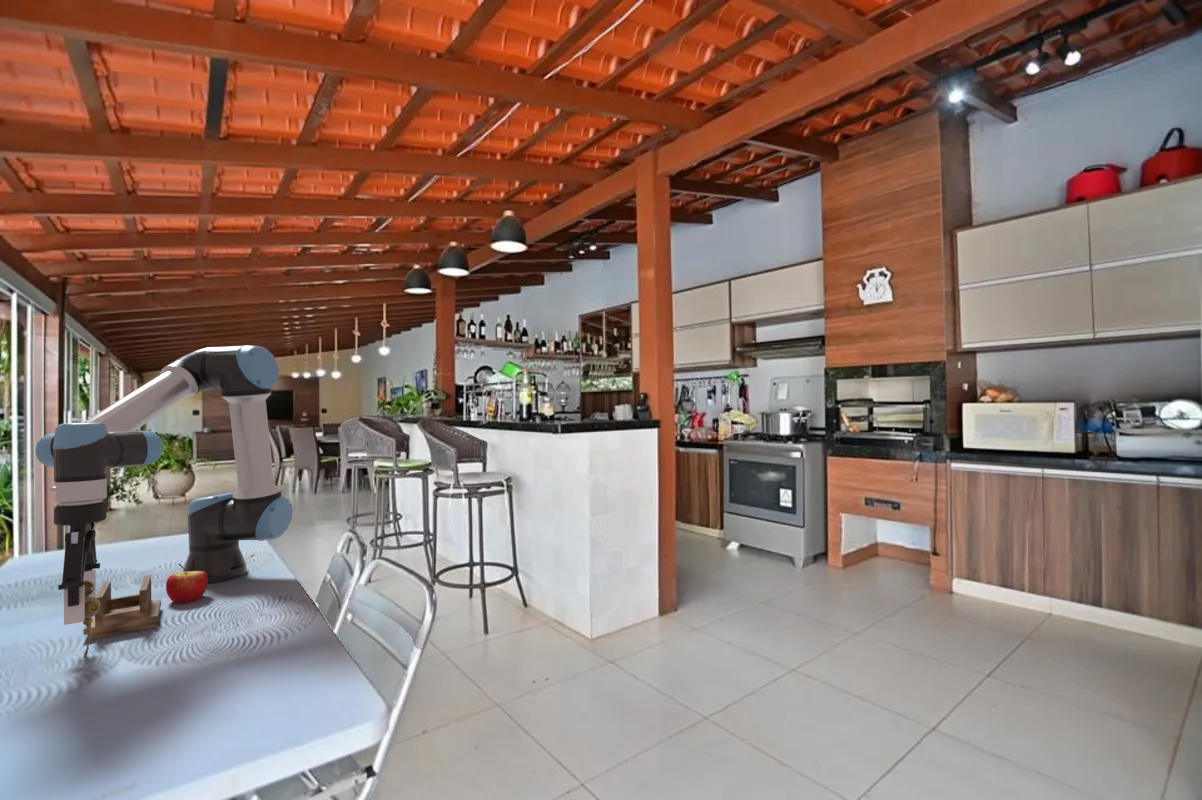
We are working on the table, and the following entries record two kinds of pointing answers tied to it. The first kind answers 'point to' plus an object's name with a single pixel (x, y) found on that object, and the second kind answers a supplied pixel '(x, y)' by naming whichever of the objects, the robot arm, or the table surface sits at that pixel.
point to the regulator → (90, 609)
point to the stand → (124, 611)
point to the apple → (186, 586)
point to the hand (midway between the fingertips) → (80, 612)
